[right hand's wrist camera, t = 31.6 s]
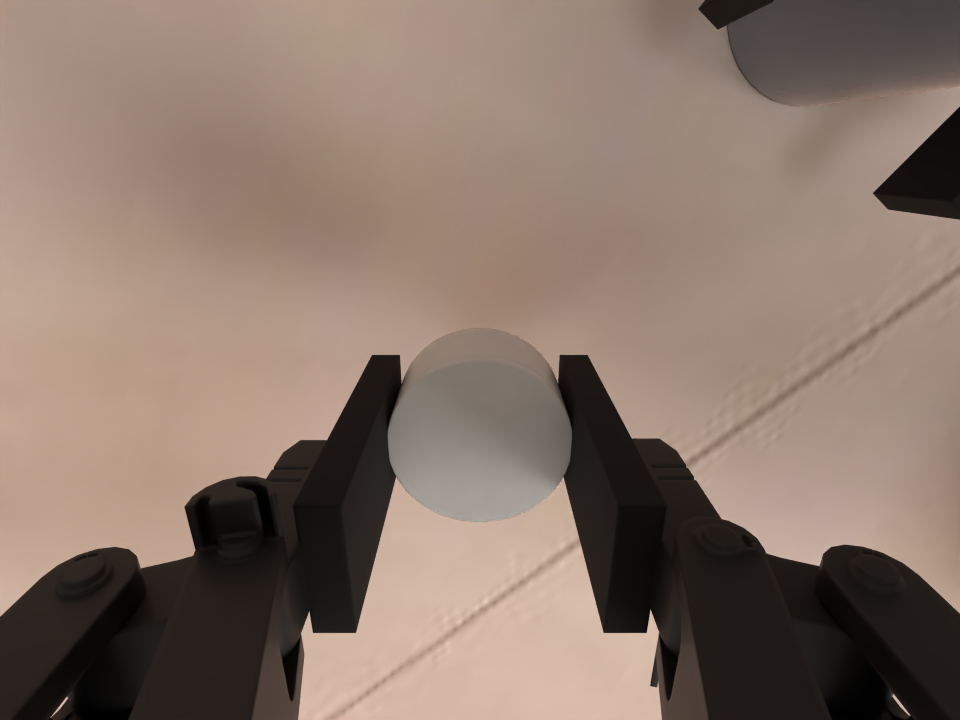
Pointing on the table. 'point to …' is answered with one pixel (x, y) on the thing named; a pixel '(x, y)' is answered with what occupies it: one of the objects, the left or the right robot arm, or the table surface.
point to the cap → (479, 427)
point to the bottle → (848, 49)
